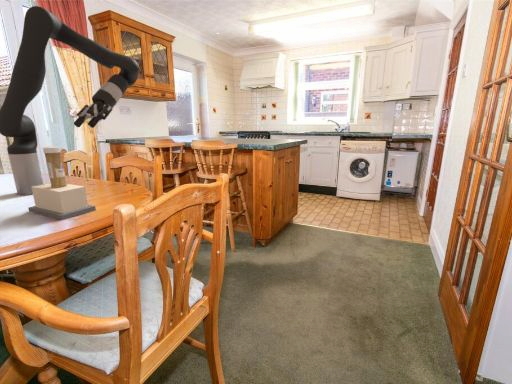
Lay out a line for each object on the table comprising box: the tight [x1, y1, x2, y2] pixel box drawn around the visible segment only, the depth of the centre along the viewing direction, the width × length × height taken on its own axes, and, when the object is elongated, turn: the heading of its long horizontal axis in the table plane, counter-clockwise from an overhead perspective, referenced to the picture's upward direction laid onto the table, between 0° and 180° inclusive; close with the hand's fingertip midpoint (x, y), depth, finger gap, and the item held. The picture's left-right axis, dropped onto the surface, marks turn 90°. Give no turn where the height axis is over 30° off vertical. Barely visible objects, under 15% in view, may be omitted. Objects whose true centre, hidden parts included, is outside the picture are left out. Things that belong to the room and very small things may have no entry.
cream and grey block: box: [27, 182, 97, 221], centre depth 89 cm, size 19×11×9 cm, turn 65°
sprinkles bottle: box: [42, 145, 68, 188], centre depth 87 cm, size 5×5×14 cm
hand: (83, 125), depth 97 cm, fingers open, 8 cm apart
